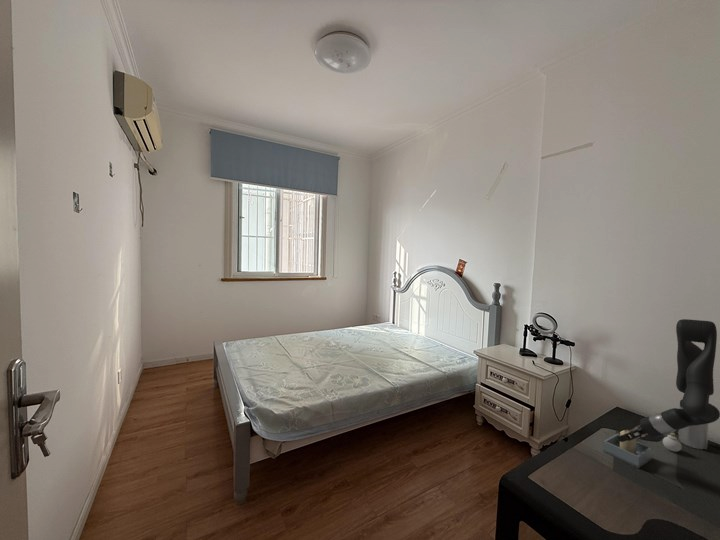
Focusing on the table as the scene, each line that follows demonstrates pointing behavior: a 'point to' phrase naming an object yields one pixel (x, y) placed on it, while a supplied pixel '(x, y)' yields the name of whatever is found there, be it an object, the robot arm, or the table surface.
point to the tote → (627, 452)
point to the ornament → (672, 442)
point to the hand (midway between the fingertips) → (623, 437)
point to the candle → (628, 443)
